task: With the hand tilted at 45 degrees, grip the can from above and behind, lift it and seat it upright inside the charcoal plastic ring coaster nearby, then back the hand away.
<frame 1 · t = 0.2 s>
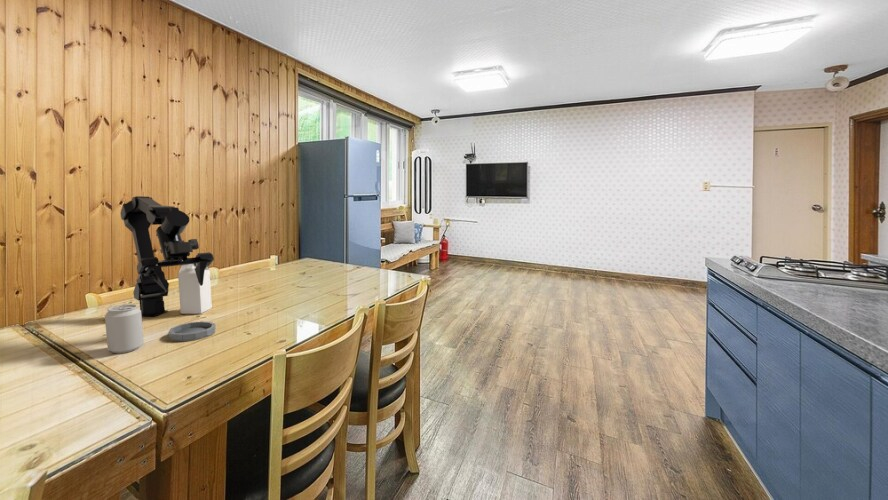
hand: (184, 287, 111), 15 cm above the table, tool tilted 35°, fingers open, 9 cm apart
milk carton: (196, 311, 136), on the table
can: (126, 349, 101), on the table
ring coaster: (193, 334, 113), on the table
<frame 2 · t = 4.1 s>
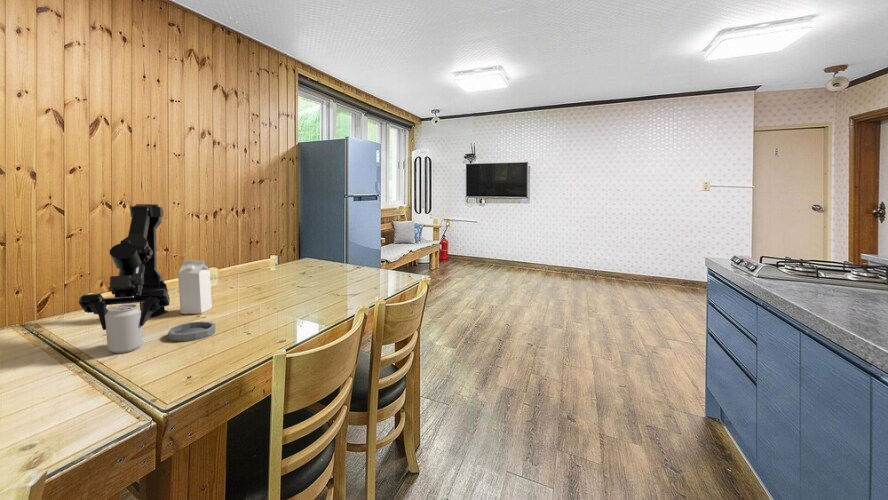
hand: (123, 327, 99), 7 cm above the table, tool tilted 45°, fingers closed on can, 7 cm apart
can: (126, 349, 101), on the table, touching gripper
everything else where it was.
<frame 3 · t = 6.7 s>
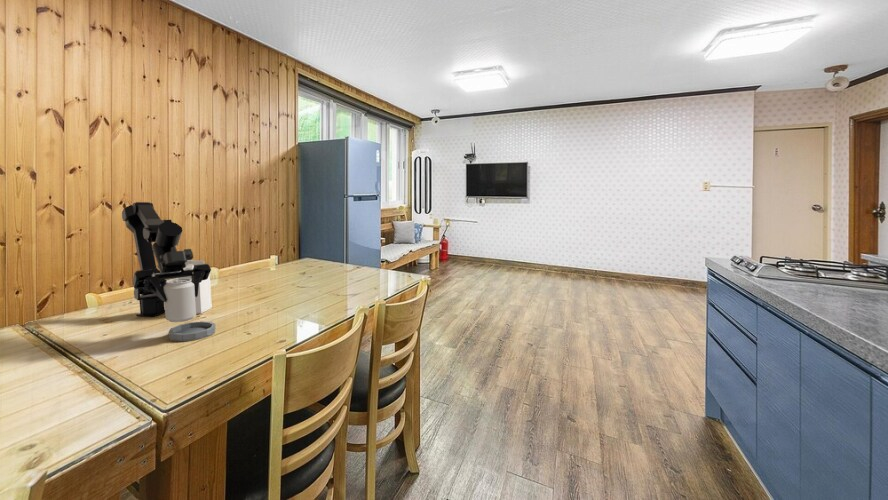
hand: (181, 298, 108), 12 cm above the table, tool tilted 45°, fingers closed on can, 7 cm apart
can: (181, 319, 110), point 5 cm above the table, touching gripper
everything else where it was.
when the fingers open (9 cm above the table, at t = 9.1 s): can drops 1 cm, resting on ring coaster.
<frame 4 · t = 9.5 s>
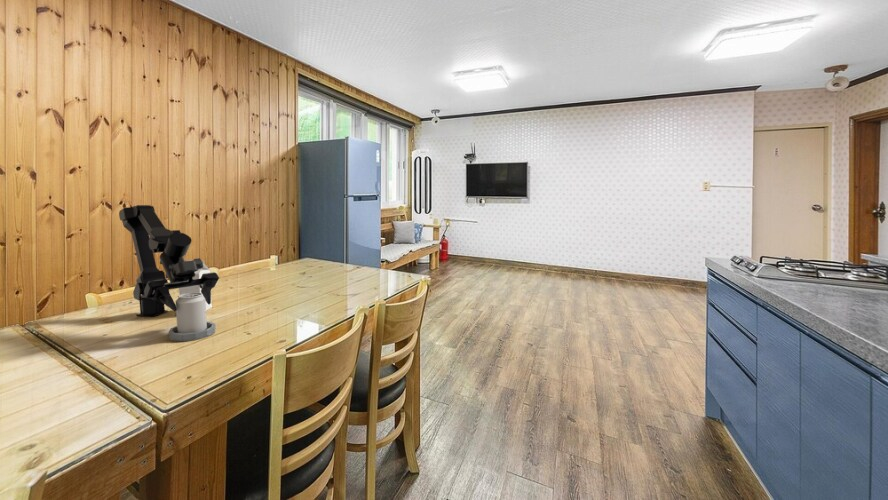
hand: (193, 306, 111), 9 cm above the table, tool tilted 45°, fingers open, 9 cm apart
can: (192, 332, 113), resting on ring coaster
everything else where it was.
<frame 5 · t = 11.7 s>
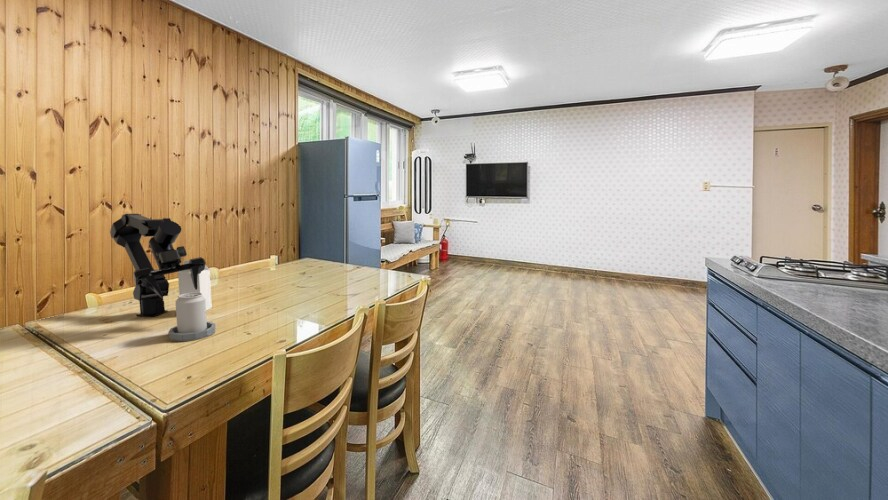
hand: (180, 293, 117), 11 cm above the table, tool tilted 40°, fingers open, 9 cm apart
nothing on the table moved.
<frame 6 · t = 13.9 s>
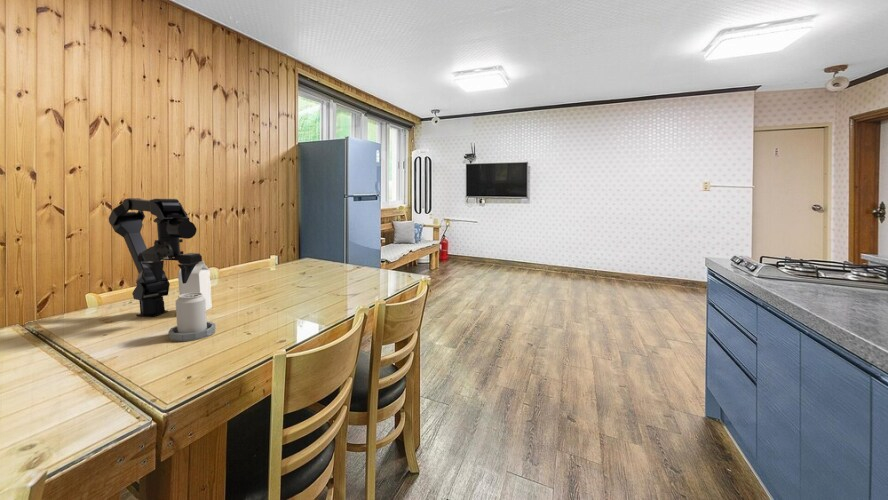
hand: (171, 282, 124), 13 cm above the table, tool pointing down, fingers open, 9 cm apart
nothing on the table moved.
at the end: can 0.2 cm off-centre on the ring coaster, point 0.4 cm above the ring coaster's base; can tilted 0°; the gripper is holding nothing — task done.
